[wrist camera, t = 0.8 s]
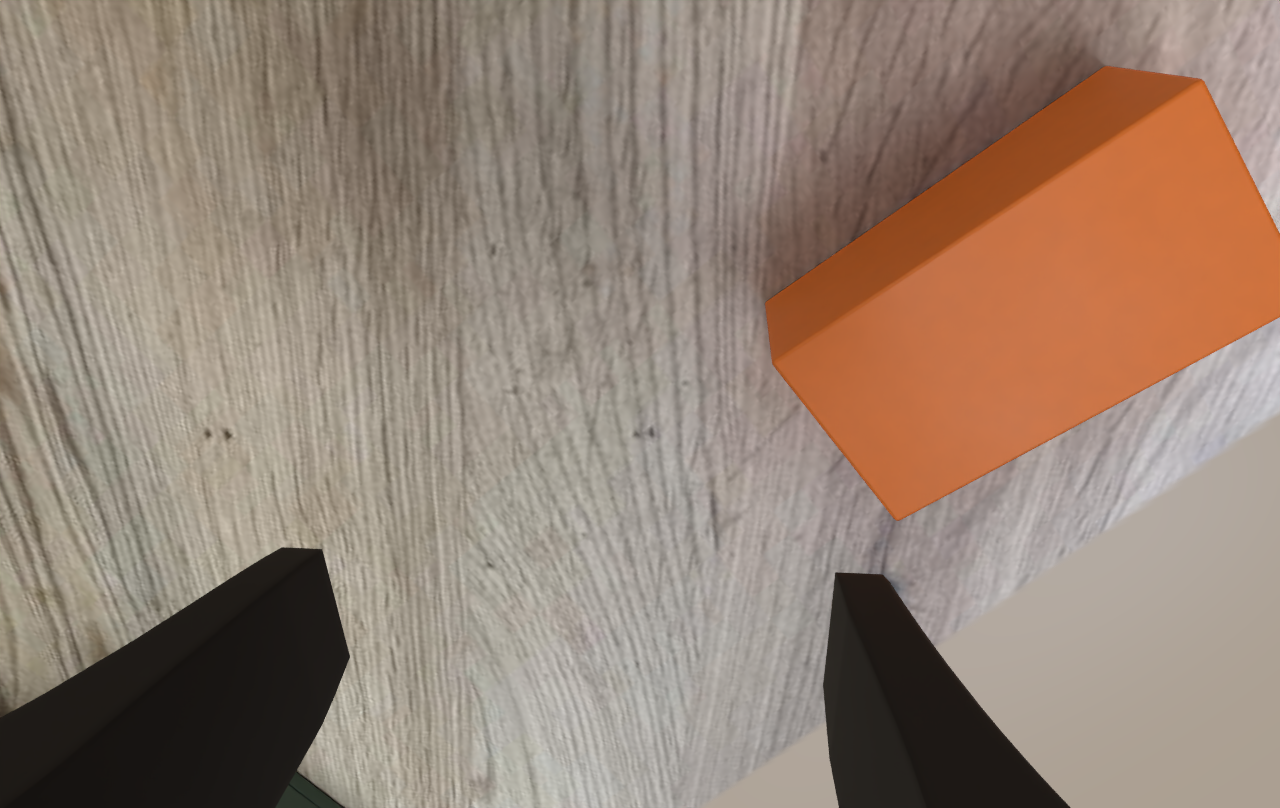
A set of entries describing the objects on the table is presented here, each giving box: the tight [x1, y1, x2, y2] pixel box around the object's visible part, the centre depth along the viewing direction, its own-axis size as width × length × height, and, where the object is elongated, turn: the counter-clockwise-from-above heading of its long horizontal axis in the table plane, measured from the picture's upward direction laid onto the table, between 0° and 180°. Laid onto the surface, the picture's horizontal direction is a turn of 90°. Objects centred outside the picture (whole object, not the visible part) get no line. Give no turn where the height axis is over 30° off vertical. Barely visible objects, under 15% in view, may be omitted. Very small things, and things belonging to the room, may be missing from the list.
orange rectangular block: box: [765, 66, 1280, 521], centre depth 15 cm, size 4×8×4 cm, turn 129°
